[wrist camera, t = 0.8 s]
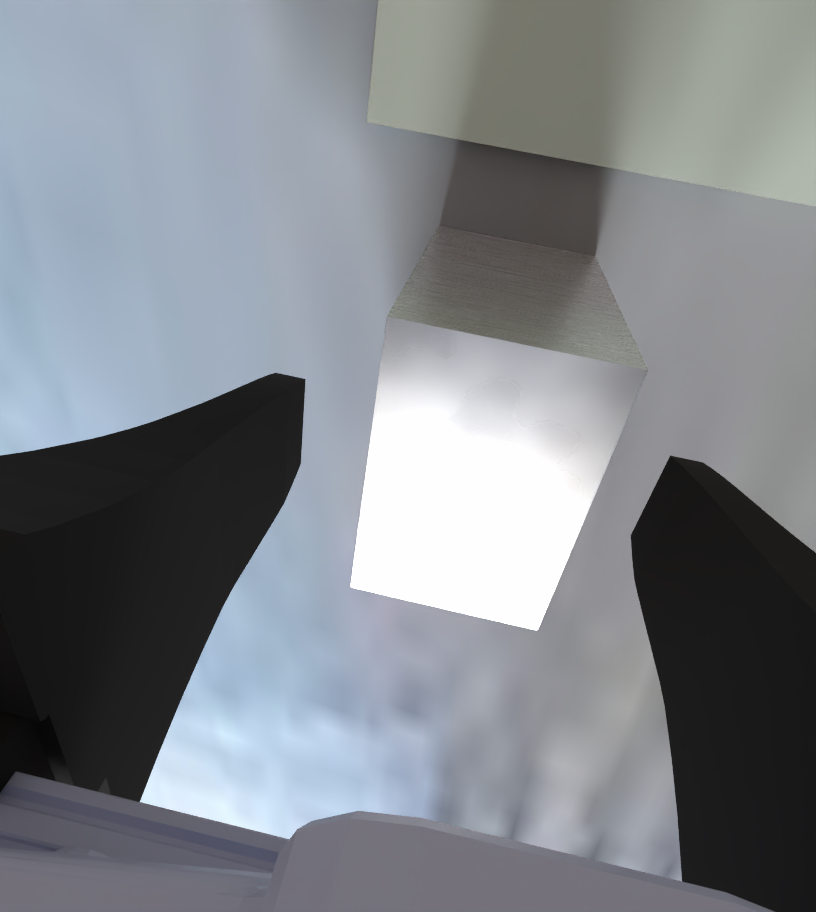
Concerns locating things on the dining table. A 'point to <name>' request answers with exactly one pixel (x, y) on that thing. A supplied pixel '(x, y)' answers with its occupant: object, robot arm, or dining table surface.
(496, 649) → the dining table surface
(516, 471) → the white block
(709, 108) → the board
